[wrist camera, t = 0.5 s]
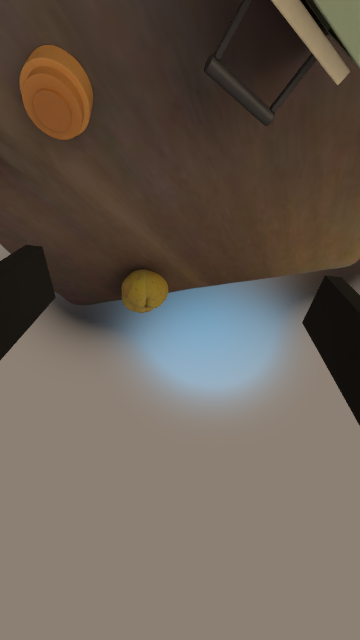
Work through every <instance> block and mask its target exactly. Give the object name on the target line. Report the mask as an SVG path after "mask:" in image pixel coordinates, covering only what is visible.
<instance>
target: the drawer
mask: <svg viewBox="0 0 360 640" xmlns="http://www.w3.org/2000/svg"><path fill="white" fill-rule="evenodd" d="M252 1H253V0H243V1H242V3H241V4H240V6H239V8H238V10H237V12H236V14H235V16H234V18H233V20H232V21H231V23H230V25H229V27H228V29H227V31H226V33H225V35H224V37H223V38H222V40H221V42H220V44H219V46H218V48H217V50H216V52H215V54H214V55H215V56H214V55H213V54H211V55H210V57H209V58H208V60H207V62H206V64H205V67H204V72H205V73H206V74H207V75H208V76H210V77H211V78H212V79H213V80H214V81H215V82H216V83H217V84H219V85H220V86H221V87H222V88H223V89H224V90H225V91H226V92H228V93H229V94H230V95H231V96H232V97H233V98H234V99H235V100H237V101H238V102H239V103H240V104H241V105H242V106H243V107H244V108H246V109H247V110H248V111H249V112H250V113H251V114H252V115H253V116H255V117H256V118H257V119H258V120H259V121H260V122H261V123H262V124H264V125H265V126H268V125H269V124H270V123H271V122H272V120H273V118H274V116H275V112H276V110H277V109H278V108H279V107H280V105H281V104H282V103H283V102H284V100H285V99H286V98H287V97H288V95H289V94H290V93H291V91H292V90H293V89H294V88H295V86H296V85H297V84H298V83H299V81H300V80H301V79H302V78H303V76H304V75H305V74H306V73H307V71H308V70H309V69H310V68H311V66H312V65H313V64H314V63H315V61H316V60H318V61H319V63H320V64H321V65H322V67H323V68H324V69H325V70H326V72H327V73H328V74H329V76H330V77H331V78H332V79H333V81H334V82H335V83H336V85H339V84H340V82H341V81H342V80H343V79H344V78H345V77H346V76H347V75H348V74H349V73H350V70H349V68H348V67H347V65H346V64H345V63H344V61H343V60H342V58H341V57H340V56H339V54H338V53H337V51H336V50H335V49H334V47H333V46H332V44H331V43H330V42H329V40H328V39H327V37H326V36H325V34H324V33H323V32H322V30H321V29H320V27H319V26H318V25H317V23H316V22H315V20H314V19H313V18H312V16H311V15H310V13H309V12H308V10H307V9H306V8H305V6H304V5H303V3H302V2H301V1H300V0H271V1H272V2H273V4H274V5H275V6H276V7H277V9H278V10H279V11H280V13H281V14H282V15H283V16H284V18H285V19H286V20H287V22H288V23H289V24H290V25H291V27H292V28H293V29H294V31H295V32H296V33H297V34H298V36H299V37H300V38H301V40H302V41H303V42H304V43H305V45H306V46H307V47H308V49H309V50H310V51H311V52H312V53H311V55H310V56H309V57H308V59H307V60H306V61H305V62H304V64H303V65H302V66H301V68H300V69H299V70H298V72H297V73H296V74H295V75H294V77H293V78H292V79H291V81H290V82H289V83H288V85H287V86H286V87H285V88H284V90H283V91H282V92H281V94H280V95H279V96H278V97H277V99H276V100H275V101H274V103H273V104H272V105H271V107H270V108H269V107H268V106H267V105H266V104H265V103H264V102H263V101H262V100H260V99H259V98H258V97H257V96H256V95H255V94H254V93H253V92H252V91H251V90H250V89H249V88H248V87H247V86H246V85H245V84H244V83H243V82H242V81H241V80H240V79H239V78H237V77H236V76H235V75H234V74H233V73H232V72H231V71H230V70H229V69H228V68H227V67H226V66H225V65H224V64H223V63H222V62H221V61H220V59H221V57H222V55H223V54H224V52H225V50H226V48H227V46H228V45H229V43H230V41H231V39H232V37H233V35H234V34H235V32H236V30H237V28H238V26H239V25H240V23H241V21H242V19H243V17H244V15H245V14H246V12H247V10H248V8H249V6H250V5H251V3H252Z"/></svg>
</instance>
